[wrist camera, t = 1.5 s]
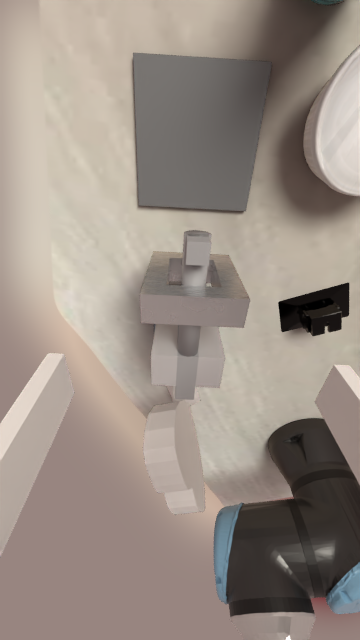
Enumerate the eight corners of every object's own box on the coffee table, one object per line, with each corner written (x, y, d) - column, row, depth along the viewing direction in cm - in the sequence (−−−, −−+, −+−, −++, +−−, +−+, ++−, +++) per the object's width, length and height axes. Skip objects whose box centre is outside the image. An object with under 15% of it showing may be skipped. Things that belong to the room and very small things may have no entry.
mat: (244, 210, 29) (245, 211, 28) (139, 204, 28) (138, 205, 28) (270, 63, 22) (272, 61, 22) (134, 55, 22) (133, 52, 21)
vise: (207, 351, 40) (218, 433, 28) (157, 349, 40) (146, 430, 28) (227, 209, 29) (259, 245, 17) (157, 205, 28) (138, 238, 16)
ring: (225, 276, 28) (243, 327, 19) (153, 273, 28) (140, 323, 19) (228, 254, 27) (250, 299, 18) (153, 251, 26) (139, 294, 18)
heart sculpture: (151, 350, 40) (132, 467, 25) (181, 344, 39) (181, 461, 24) (177, 411, 48) (175, 527, 33) (203, 407, 47) (212, 523, 32)
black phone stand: (270, 336, 39) (280, 355, 35) (264, 296, 35) (274, 313, 31) (356, 315, 37) (376, 333, 33) (359, 270, 33) (382, 285, 29)
